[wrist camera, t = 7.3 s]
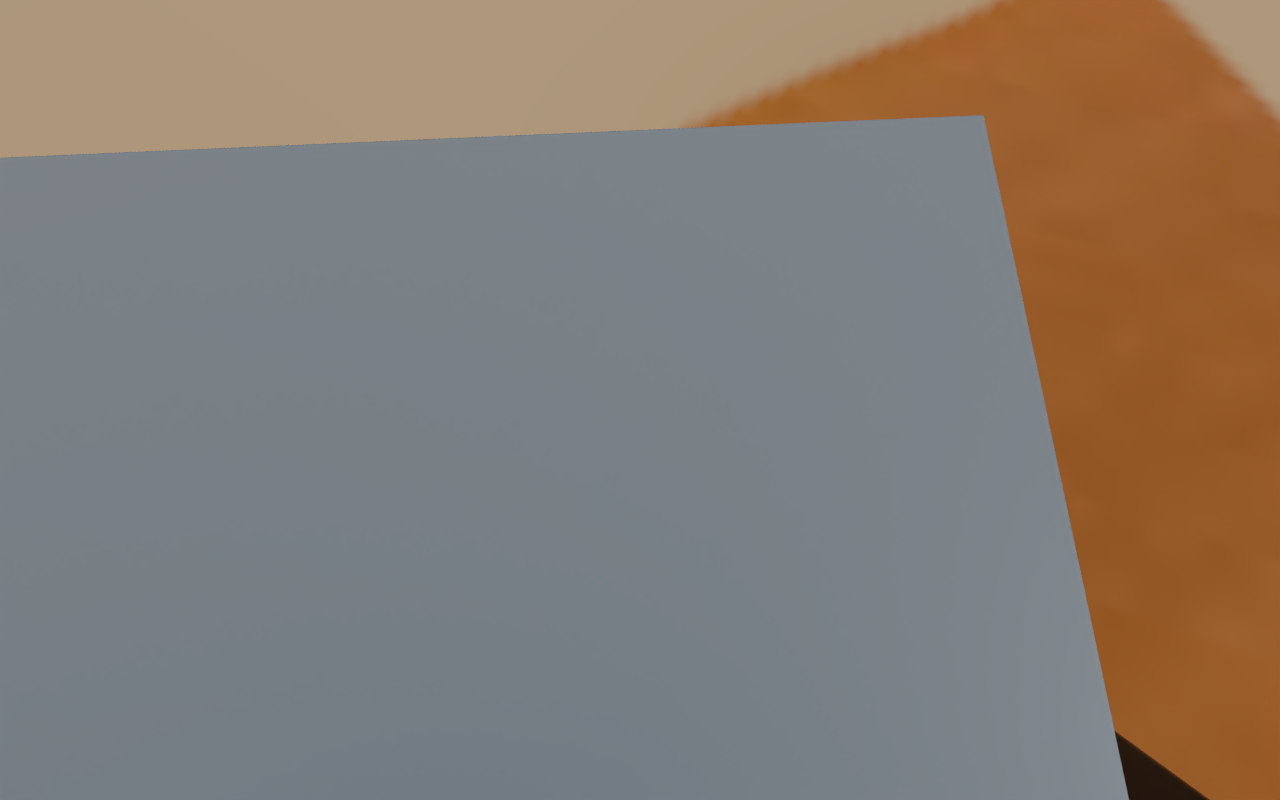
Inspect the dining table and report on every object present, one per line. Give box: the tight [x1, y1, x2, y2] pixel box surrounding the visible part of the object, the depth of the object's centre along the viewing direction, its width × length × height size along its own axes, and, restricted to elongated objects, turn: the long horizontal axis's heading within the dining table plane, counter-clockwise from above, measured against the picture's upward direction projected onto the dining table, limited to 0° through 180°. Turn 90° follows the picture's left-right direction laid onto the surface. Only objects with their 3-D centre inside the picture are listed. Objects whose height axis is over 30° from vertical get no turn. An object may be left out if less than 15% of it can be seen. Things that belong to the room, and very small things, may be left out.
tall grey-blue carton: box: [0, 115, 1129, 800], centre depth 8 cm, size 6×6×11 cm
